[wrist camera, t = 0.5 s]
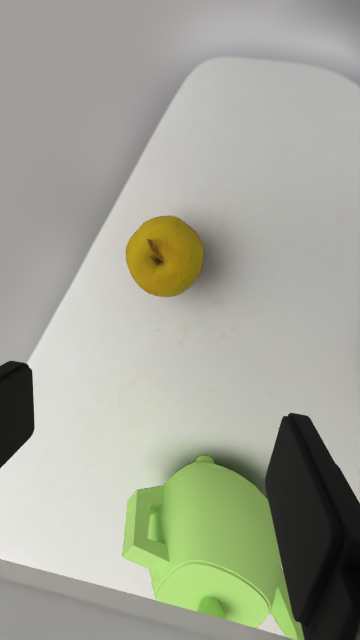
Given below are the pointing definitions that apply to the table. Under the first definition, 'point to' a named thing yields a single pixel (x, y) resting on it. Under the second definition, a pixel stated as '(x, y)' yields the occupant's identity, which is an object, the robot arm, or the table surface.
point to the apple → (165, 256)
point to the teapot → (210, 546)
